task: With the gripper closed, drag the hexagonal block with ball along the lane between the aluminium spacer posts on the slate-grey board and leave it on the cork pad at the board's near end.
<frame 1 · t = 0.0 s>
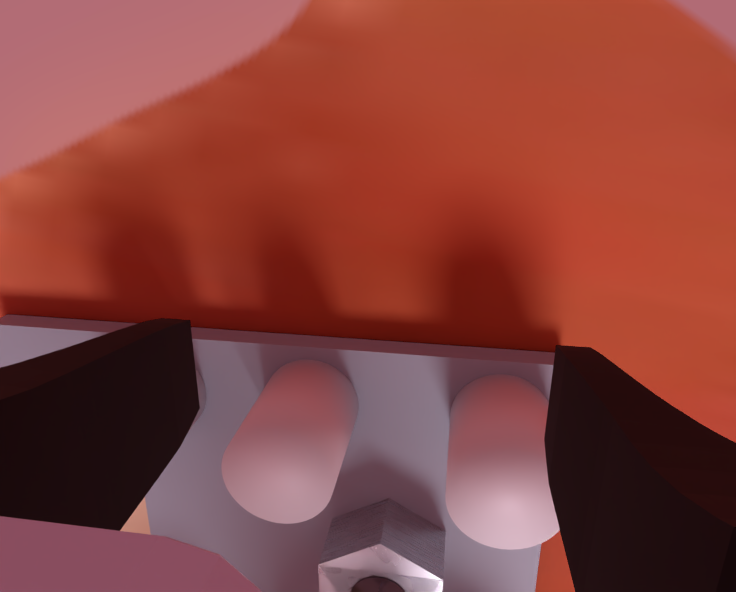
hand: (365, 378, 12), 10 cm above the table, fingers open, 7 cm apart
spacer board: (277, 519, 27), on the table
hexagonal block with ball: (387, 550, 25), point 1 cm above the table, touching spacer board
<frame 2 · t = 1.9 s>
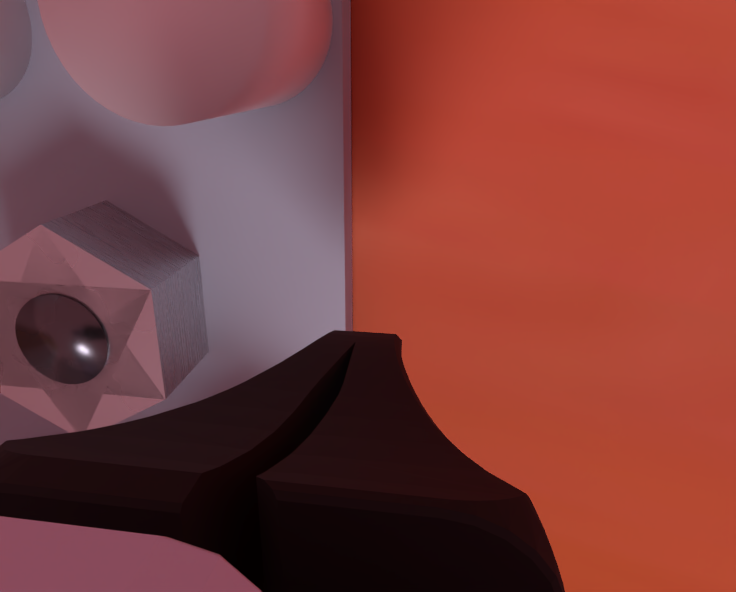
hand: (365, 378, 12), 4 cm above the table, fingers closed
hexagonal block with ball: (121, 300, 16), point 1 cm above the table, touching spacer board
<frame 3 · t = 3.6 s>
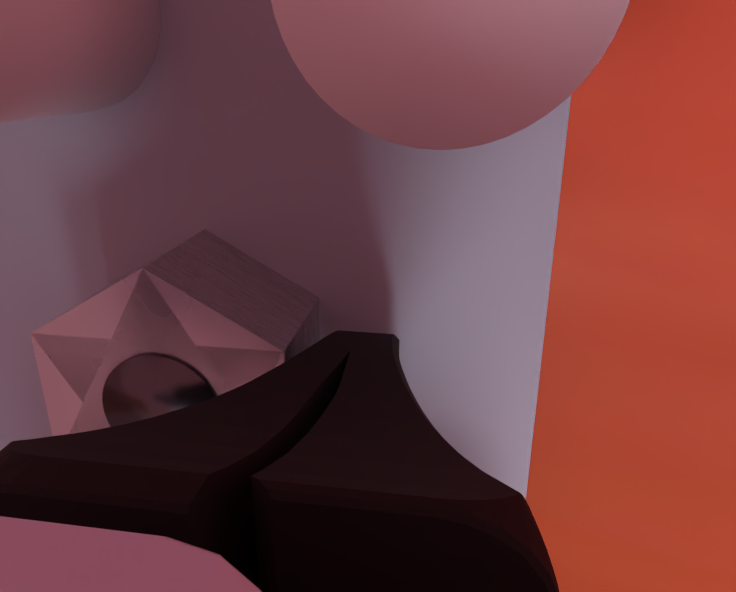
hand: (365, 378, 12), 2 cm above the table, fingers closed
spacer board: (65, 319, 15), on the table
hexagonal block with ball: (216, 348, 13), point 1 cm above the table, touching gripper, spacer board
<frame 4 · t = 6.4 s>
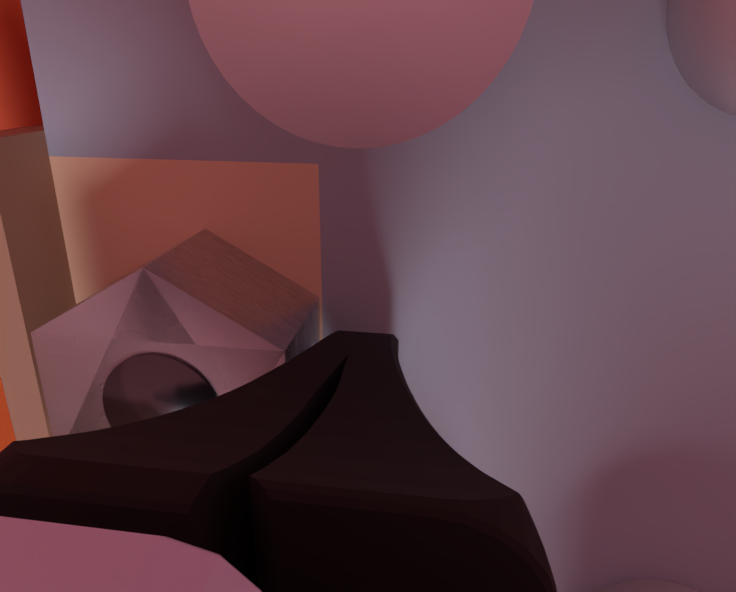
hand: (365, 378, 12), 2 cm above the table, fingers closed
spacer board: (587, 354, 13), on the table
hexagonal block with ball: (216, 348, 13), point 1 cm above the table, touching gripper, spacer board
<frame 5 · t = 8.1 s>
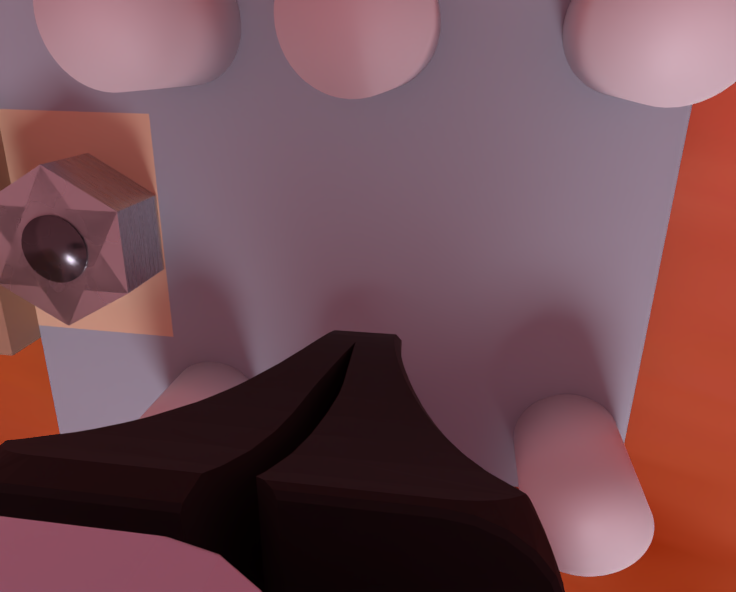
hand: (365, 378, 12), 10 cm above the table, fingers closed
spacer board: (322, 234, 21), on the table
hexagonal block with ball: (99, 229, 22), point 1 cm above the table, touching spacer board
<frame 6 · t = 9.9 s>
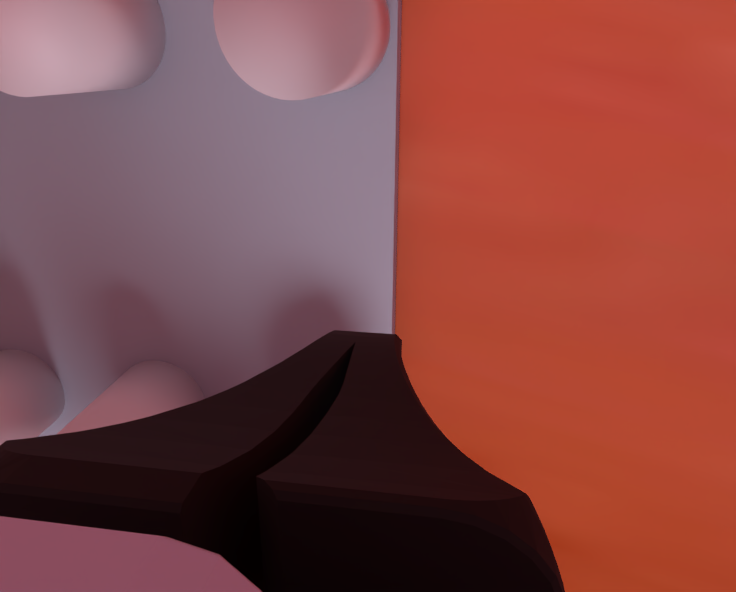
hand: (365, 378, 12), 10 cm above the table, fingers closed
spacer board: (102, 226, 23), on the table
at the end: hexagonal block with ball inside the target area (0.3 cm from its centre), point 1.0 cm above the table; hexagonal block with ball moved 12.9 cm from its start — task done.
